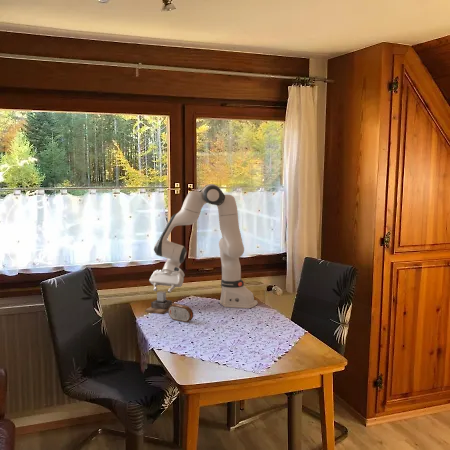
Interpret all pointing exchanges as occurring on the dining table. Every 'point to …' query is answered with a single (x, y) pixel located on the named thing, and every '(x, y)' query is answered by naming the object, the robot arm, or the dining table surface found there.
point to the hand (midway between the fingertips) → (161, 291)
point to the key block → (161, 297)
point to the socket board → (159, 307)
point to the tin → (180, 312)
